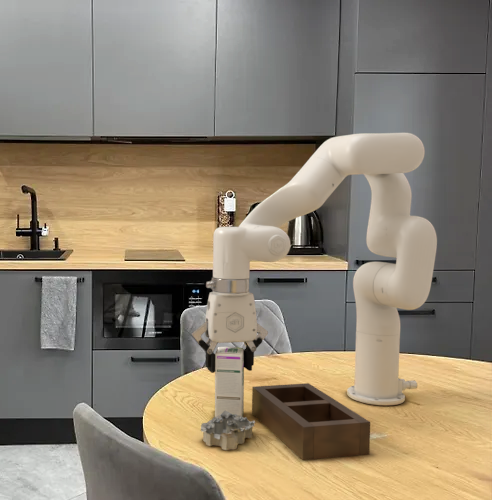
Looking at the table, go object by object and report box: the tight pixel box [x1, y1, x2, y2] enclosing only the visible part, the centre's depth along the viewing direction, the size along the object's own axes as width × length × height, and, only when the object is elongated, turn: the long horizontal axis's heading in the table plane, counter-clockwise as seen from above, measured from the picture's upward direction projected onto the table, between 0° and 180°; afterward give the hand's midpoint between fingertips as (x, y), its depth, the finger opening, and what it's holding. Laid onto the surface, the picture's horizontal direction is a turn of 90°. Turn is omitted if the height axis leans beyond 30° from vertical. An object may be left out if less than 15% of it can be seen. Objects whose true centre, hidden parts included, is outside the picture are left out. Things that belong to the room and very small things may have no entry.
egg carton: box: [200, 410, 256, 451], centre depth 118 cm, size 11×8×4 cm
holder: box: [251, 382, 371, 461], centre depth 122 cm, size 13×24×6 cm, turn 12°
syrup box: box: [214, 346, 245, 418], centre depth 130 cm, size 6×6×14 cm
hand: (229, 369), depth 129 cm, fingers closed on syrup box, 7 cm apart
